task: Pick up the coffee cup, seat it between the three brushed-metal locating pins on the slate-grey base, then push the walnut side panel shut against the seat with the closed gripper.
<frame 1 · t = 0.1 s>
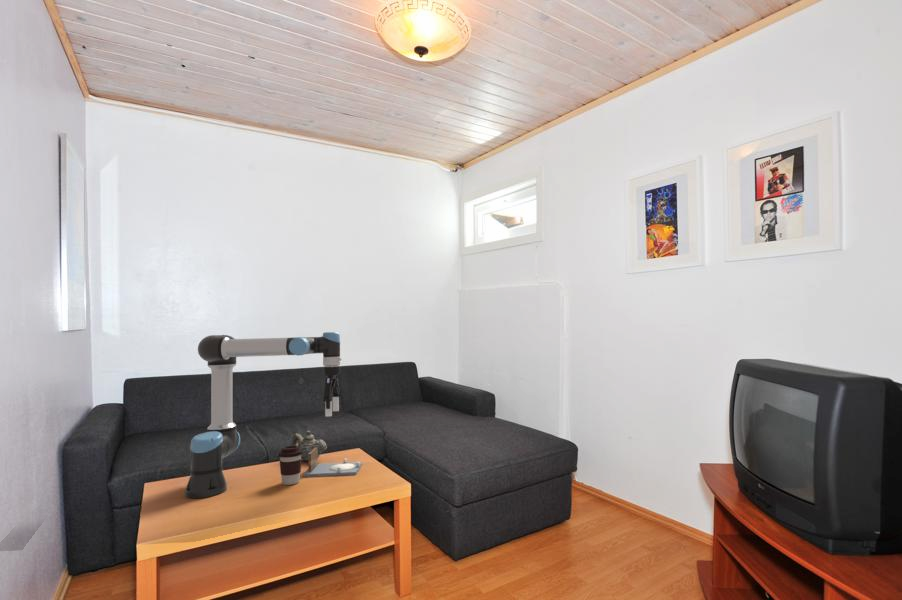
hand: (332, 413, 208), 28 cm above the table, fingers open, 13 cm apart
panel: (311, 459, 216), point 6 cm above the table, slide at 0.0 cm
coffee cup: (290, 483, 200), on the table
teapot: (308, 460, 236), on the table
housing: (333, 470, 216), on the table
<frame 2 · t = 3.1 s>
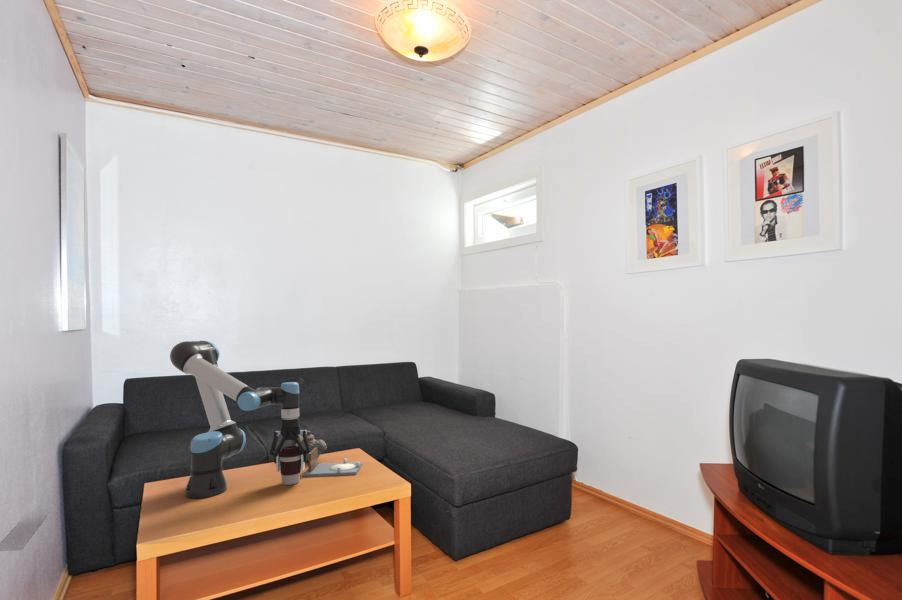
hand: (290, 470, 200), 5 cm above the table, fingers closed on coffee cup, 10 cm apart
coffee cup: (290, 483, 200), on the table, touching gripper
everything else where it was.
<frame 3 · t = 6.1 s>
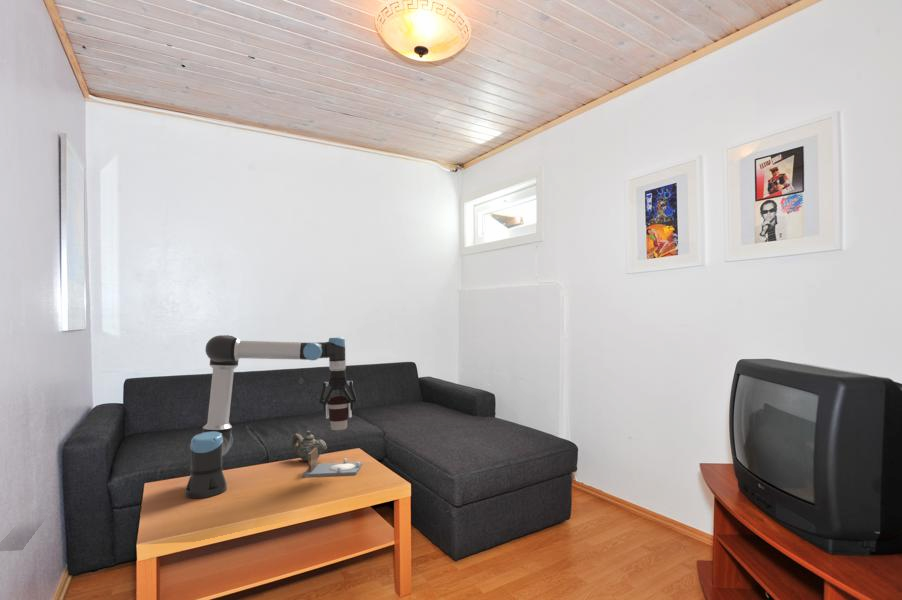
hand: (338, 417, 217), 24 cm above the table, fingers closed on coffee cup, 10 cm apart
coffee cup: (339, 429, 217), point 19 cm above the table, touching gripper
everything else where it was.
when the fingers open (8 cm above the table, at t = 9.4 s): coffee cup drops 1 cm, resting on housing.
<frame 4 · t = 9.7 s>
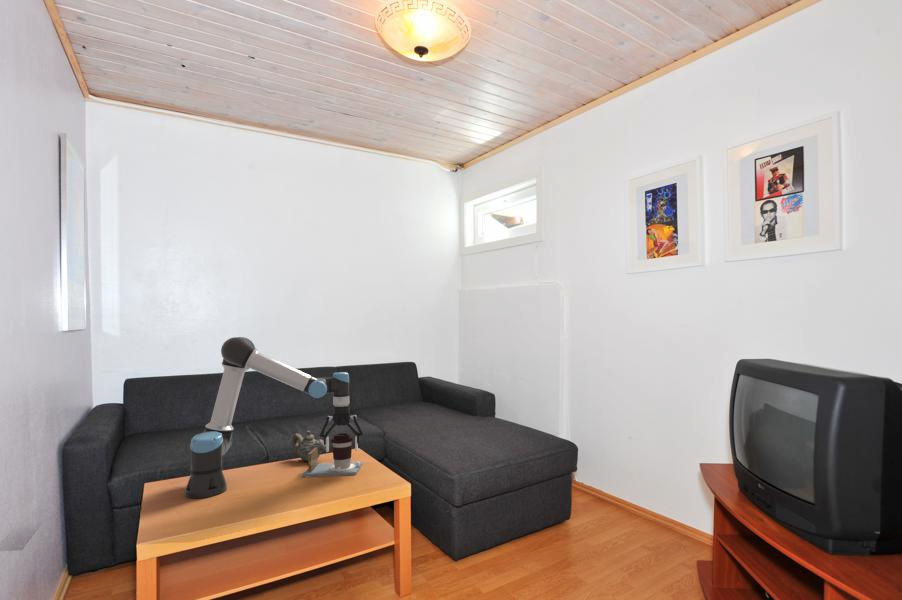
hand: (342, 451, 217), 9 cm above the table, fingers open, 13 cm apart
coffee cup: (342, 467, 217), point 1 cm above the table, touching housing
everything else where it was.
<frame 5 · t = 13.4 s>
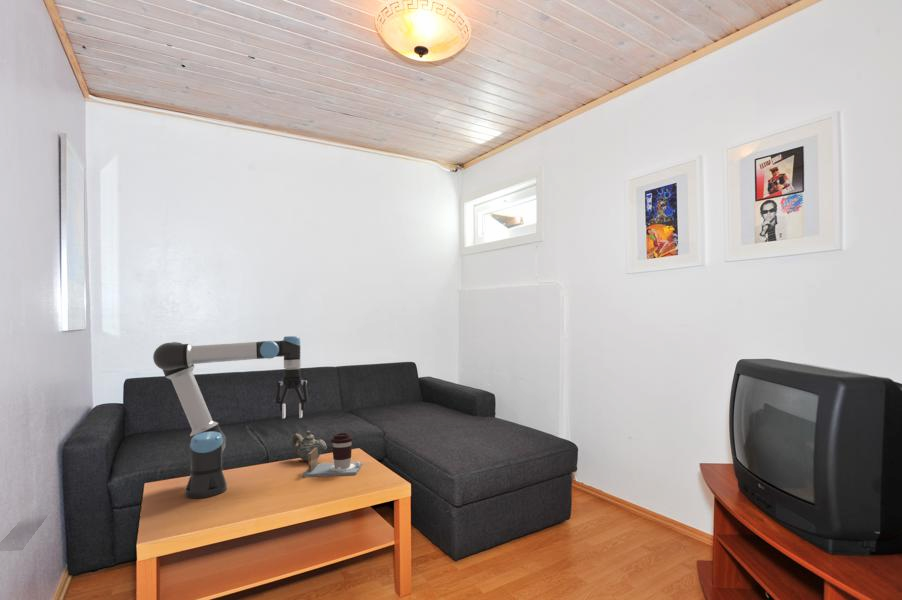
hand: (292, 417, 218), 25 cm above the table, fingers open, 7 cm apart
nothing on the table moved.
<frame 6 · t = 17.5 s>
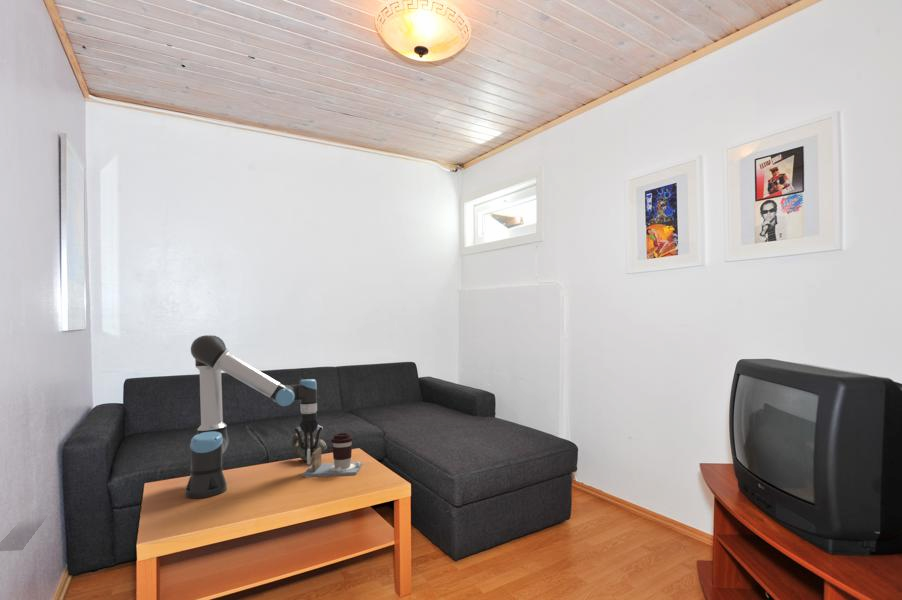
hand: (309, 463, 216), 4 cm above the table, fingers closed
panel: (315, 459, 216), point 6 cm above the table, slide at 1.7 cm, touching gripper
everything else where it was.
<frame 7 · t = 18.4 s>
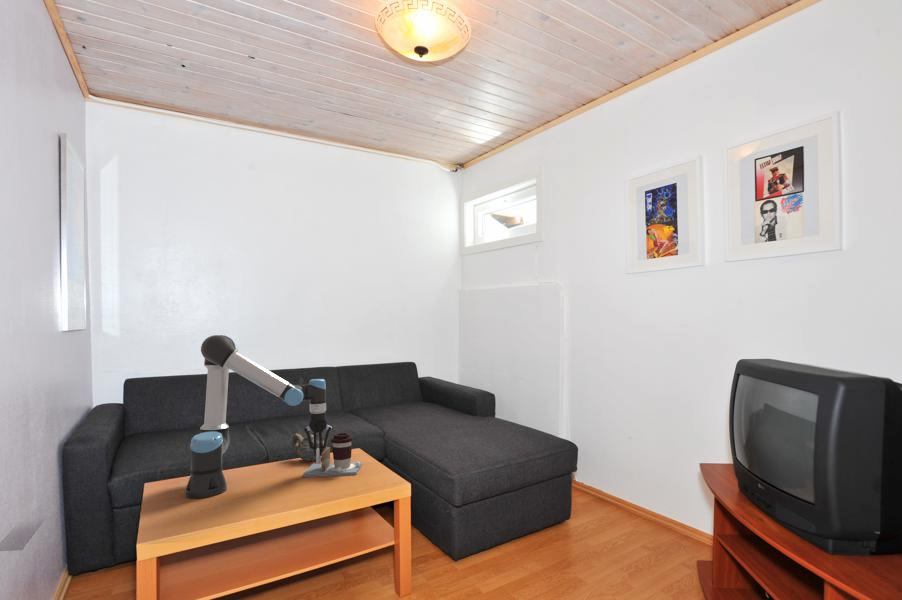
hand: (318, 463, 216), 4 cm above the table, fingers closed
panel: (324, 458, 217), point 6 cm above the table, slide at 6.0 cm, touching gripper
everything else where it was.
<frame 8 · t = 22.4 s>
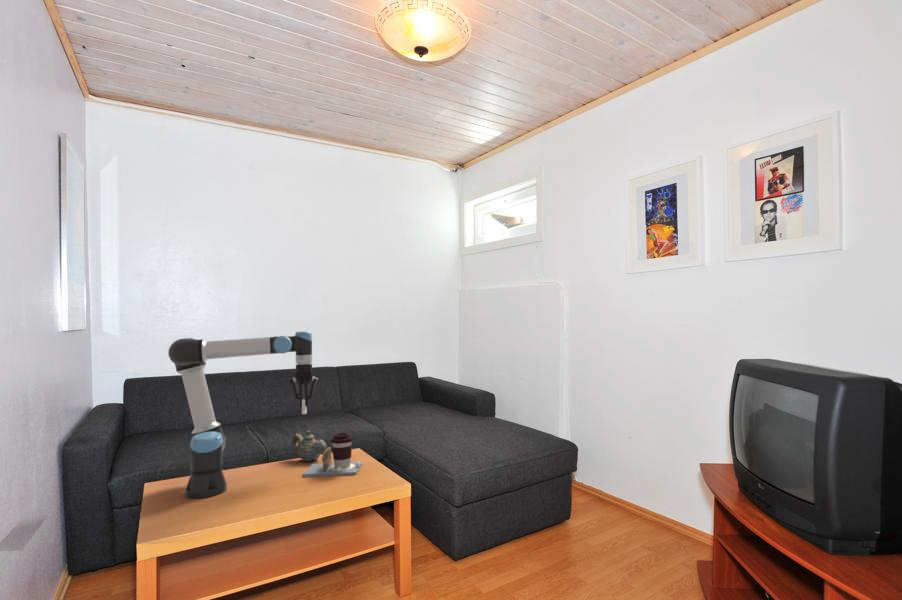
hand: (304, 413, 220), 26 cm above the table, fingers closed
panel: (325, 458, 217), point 6 cm above the table, slide at 6.5 cm
everything else where it was.
at the end: coffee cup inside the target area on the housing (0.1 cm from its centre), point 1.2 cm above the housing's base; coffee cup tilted 0°; panel slide at 6.5 cm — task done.
